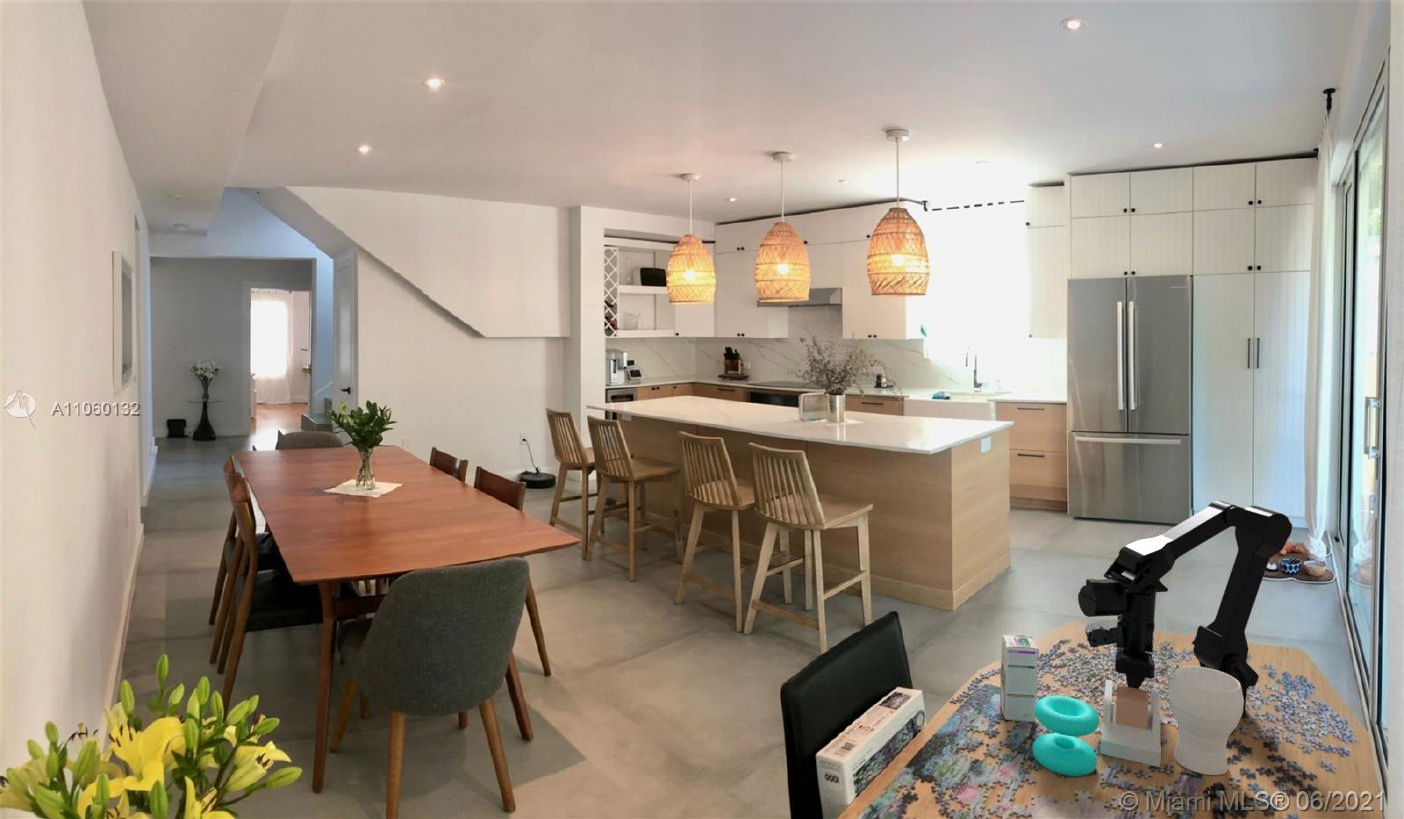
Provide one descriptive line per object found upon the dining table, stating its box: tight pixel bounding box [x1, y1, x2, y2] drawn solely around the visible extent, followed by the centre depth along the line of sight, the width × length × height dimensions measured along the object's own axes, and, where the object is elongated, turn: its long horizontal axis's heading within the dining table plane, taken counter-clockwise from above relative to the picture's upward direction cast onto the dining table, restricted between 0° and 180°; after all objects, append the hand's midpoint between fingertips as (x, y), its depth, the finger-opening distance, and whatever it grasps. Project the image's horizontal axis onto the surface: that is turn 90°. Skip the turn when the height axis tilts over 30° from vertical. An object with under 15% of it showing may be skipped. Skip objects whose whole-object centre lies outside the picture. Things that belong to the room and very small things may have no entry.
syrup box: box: [999, 634, 1039, 723], centre depth 153 cm, size 6×6×14 cm
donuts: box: [1031, 695, 1100, 777], centre depth 137 cm, size 10×10×10 cm
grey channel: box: [1099, 678, 1162, 768], centre depth 147 cm, size 9×20×5 cm, turn 152°
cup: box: [1168, 665, 1244, 776], centre depth 137 cm, size 11×11×15 cm
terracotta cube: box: [1115, 684, 1150, 730], centre depth 146 cm, size 5×5×5 cm
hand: (1131, 693), depth 154 cm, fingers closed
